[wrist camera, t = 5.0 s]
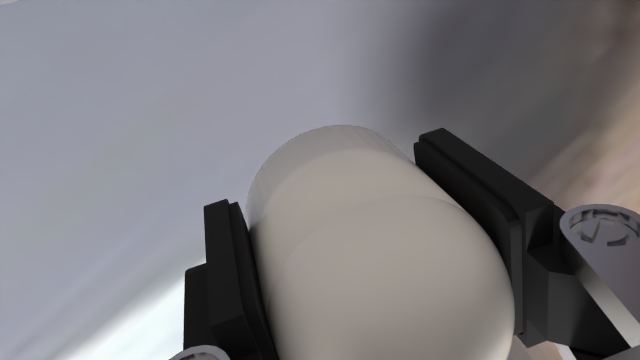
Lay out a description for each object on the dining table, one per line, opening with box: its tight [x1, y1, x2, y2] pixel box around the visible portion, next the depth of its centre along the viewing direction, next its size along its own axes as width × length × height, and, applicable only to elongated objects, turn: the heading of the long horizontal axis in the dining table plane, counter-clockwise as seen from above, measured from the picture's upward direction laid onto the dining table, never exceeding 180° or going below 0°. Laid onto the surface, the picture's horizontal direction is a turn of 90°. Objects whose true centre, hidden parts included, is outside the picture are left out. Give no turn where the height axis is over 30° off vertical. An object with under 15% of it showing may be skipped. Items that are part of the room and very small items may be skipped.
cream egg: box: [246, 125, 515, 360], centre depth 9 cm, size 4×4×6 cm
